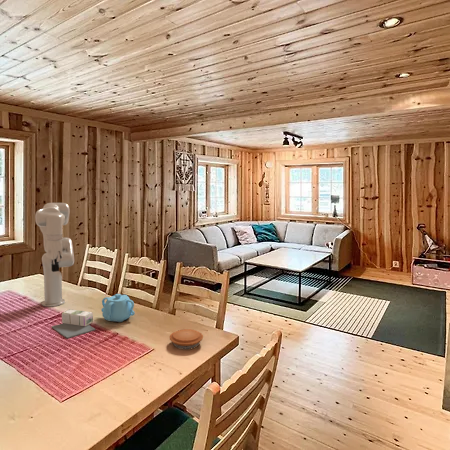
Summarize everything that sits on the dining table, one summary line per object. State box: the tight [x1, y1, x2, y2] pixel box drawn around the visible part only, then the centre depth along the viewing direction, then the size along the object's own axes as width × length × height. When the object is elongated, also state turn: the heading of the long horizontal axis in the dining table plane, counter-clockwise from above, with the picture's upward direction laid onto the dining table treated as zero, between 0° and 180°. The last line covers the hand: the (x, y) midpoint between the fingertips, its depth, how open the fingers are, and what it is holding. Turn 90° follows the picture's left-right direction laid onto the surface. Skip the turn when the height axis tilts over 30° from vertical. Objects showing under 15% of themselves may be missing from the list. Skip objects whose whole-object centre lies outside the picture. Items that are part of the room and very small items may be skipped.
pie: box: [169, 328, 204, 350], centre depth 155 cm, size 15×16×5 cm
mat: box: [51, 323, 96, 339], centre depth 167 cm, size 18×14×1 cm
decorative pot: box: [100, 293, 136, 323], centre depth 182 cm, size 16×16×14 cm
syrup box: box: [61, 308, 94, 326], centre depth 173 cm, size 6×6×14 cm
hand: (55, 271), depth 179 cm, fingers closed
